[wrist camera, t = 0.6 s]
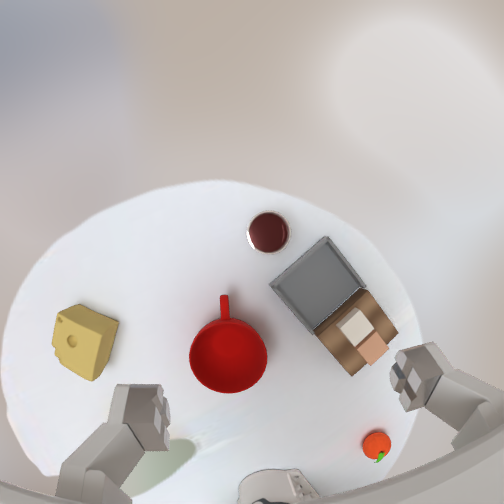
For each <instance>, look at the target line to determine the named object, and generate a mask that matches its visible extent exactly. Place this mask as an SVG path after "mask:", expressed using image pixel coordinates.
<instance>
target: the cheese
mask: <svg viewBox="0 0 504 504" xmlns="http://www.w3.org/2000/svg"><path fill="white" fill-rule="evenodd" d="M118 324H119V322H117V321H115V320H113V319H111V318H108V317H106V316H103V315H101V314H98V313H96V312H94V311H92V310H90V309H88V308H86V307H84V306H82V305H80V304H78V305H74V306H72V307H69V308H67V309H65V310H62V311H60V312H59V313H58V314H57V318H56V323H55V327H54V333H53V339H52V346H53V347H55V356H57V357H58V358H59V361H60V363H61V364H62V365H63V366H64V367H66V368H68V369H69V370H71V371H73V372H74V373H76V374H77V375H79V376H81V377H82V378H84V379H86V380H89V381H94V380H95V379H97V378H98V377H99V376H100V375H101V373H102V372H103V370H104V368H105V366H106V364H107V362H108V360H109V356H110V353H111V350H112V346H113V342H114V338H115V334H116V331H117V328H118Z"/></svg>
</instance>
